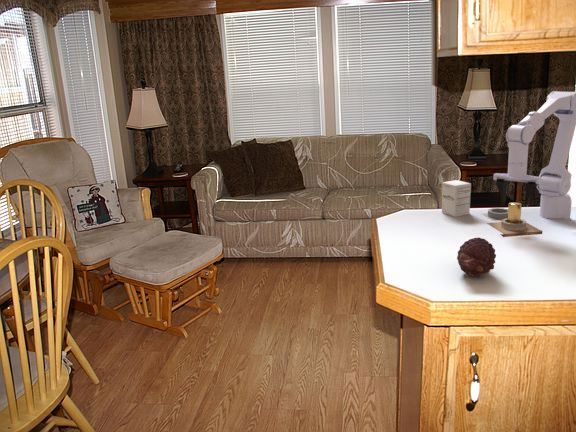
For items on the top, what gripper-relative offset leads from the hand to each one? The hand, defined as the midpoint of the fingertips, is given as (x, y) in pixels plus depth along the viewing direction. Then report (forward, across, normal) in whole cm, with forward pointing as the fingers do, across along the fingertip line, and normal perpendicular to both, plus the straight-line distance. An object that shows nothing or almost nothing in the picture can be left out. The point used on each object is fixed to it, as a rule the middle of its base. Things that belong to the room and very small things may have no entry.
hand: (515, 202), depth 183 cm
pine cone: (+10, +4, -44) cm, 45 cm away
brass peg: (+8, 0, 0) cm, 8 cm away
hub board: (+9, 0, 0) cm, 9 cm away
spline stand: (+9, -8, +11) cm, 17 cm away
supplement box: (+10, -23, +7) cm, 26 cm away
